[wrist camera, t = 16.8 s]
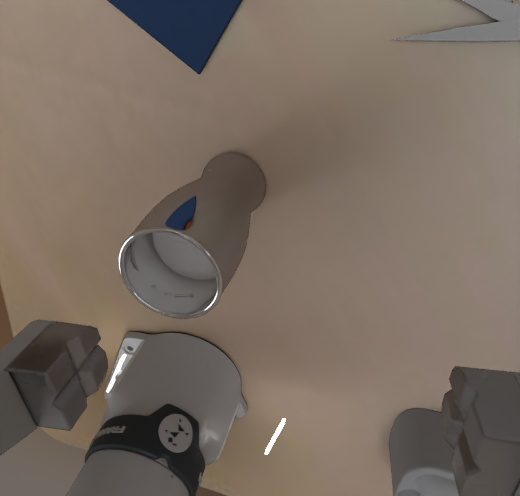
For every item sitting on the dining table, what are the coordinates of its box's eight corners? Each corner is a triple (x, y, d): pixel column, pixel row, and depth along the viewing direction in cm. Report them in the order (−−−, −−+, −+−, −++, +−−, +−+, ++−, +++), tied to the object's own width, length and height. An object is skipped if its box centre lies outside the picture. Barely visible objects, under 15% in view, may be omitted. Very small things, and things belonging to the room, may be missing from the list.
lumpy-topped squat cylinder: (492, 418, 44) (520, 499, 36) (465, 481, 50) (484, 559, 43) (396, 404, 46) (405, 478, 38) (382, 466, 52) (387, 539, 45)
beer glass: (282, 164, 33) (240, 253, 21) (257, 228, 37) (209, 337, 25) (208, 134, 33) (121, 205, 21) (191, 201, 37) (108, 296, 25)
